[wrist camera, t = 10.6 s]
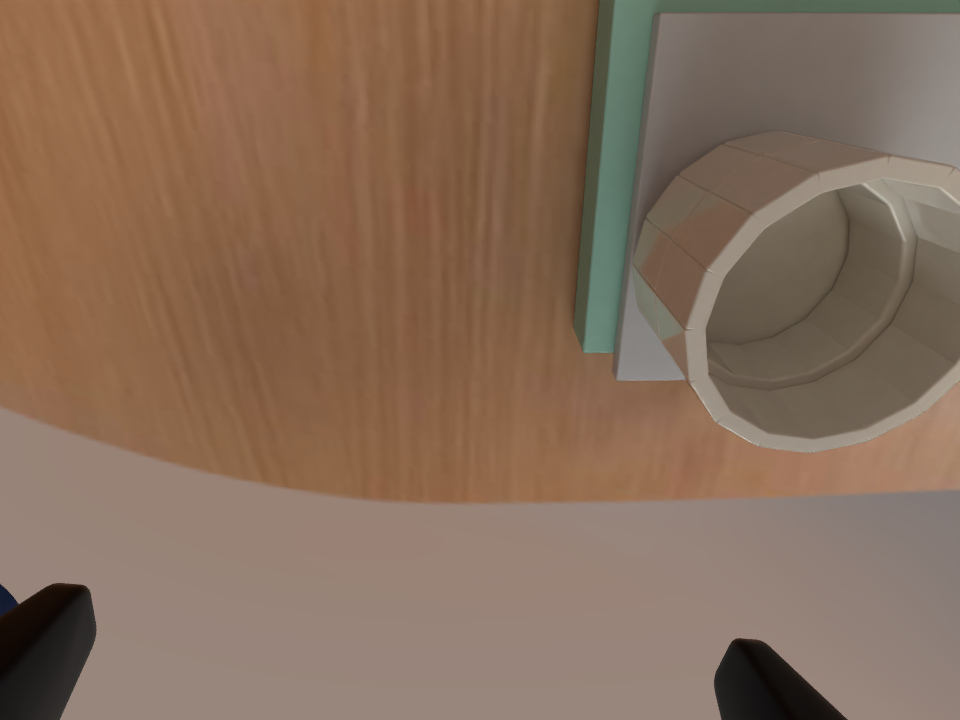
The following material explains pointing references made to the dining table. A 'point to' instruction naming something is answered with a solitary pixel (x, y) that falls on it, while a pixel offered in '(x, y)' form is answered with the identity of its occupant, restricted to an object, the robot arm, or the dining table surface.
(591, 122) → the kitchen scale
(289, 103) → the dining table surface
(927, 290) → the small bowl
